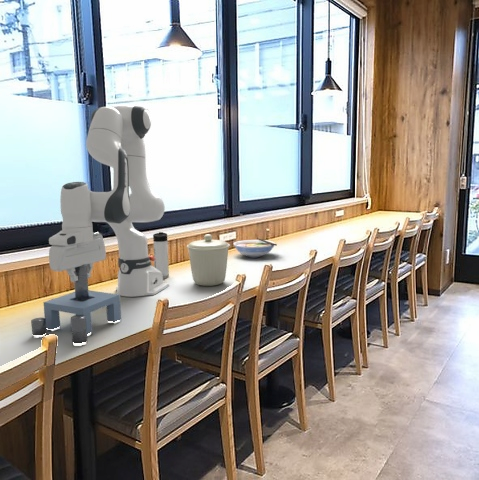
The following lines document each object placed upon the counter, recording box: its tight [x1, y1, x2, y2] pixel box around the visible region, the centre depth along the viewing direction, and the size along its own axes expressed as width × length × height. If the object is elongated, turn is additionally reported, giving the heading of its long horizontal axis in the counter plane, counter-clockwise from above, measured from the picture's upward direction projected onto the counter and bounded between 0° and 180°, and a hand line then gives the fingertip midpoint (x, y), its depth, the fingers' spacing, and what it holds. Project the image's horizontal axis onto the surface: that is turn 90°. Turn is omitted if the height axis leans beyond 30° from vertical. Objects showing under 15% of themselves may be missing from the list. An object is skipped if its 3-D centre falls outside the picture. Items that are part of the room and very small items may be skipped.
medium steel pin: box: [70, 314, 88, 343], centre depth 132 cm, size 4×4×8 cm
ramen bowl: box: [233, 238, 277, 258], centre depth 253 cm, size 25×23×8 cm
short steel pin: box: [30, 317, 48, 335], centre depth 139 cm, size 4×4×5 cm
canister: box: [186, 233, 231, 287], centre depth 196 cm, size 18×18×21 cm
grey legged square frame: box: [43, 289, 122, 334], centre depth 147 cm, size 16×16×9 cm
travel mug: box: [152, 231, 170, 280], centre depth 208 cm, size 6×7×20 cm
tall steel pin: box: [73, 264, 89, 302], centre depth 145 cm, size 4×4×14 cm
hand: (80, 279), depth 145 cm, fingers closed on tall steel pin, 4 cm apart
